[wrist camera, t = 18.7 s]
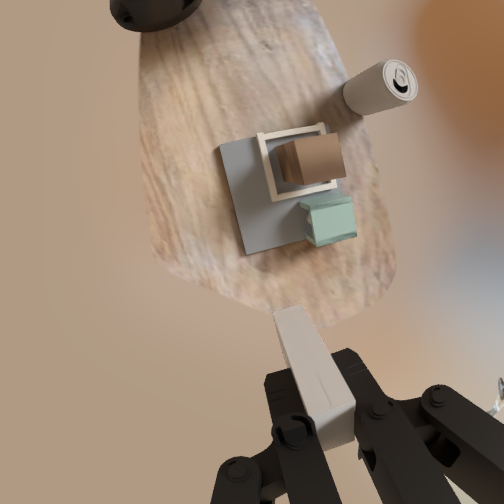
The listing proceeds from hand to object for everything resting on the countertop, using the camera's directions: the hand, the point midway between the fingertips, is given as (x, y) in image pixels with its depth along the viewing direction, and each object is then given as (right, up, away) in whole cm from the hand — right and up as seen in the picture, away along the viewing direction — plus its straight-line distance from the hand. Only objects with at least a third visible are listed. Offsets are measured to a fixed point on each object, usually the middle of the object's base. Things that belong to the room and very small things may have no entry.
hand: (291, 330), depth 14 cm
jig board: (+3, +13, +26) cm, 29 cm away
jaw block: (+4, +17, +24) cm, 29 cm away
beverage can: (+15, +28, +23) cm, 39 cm away
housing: (+8, +9, +26) cm, 29 cm away
